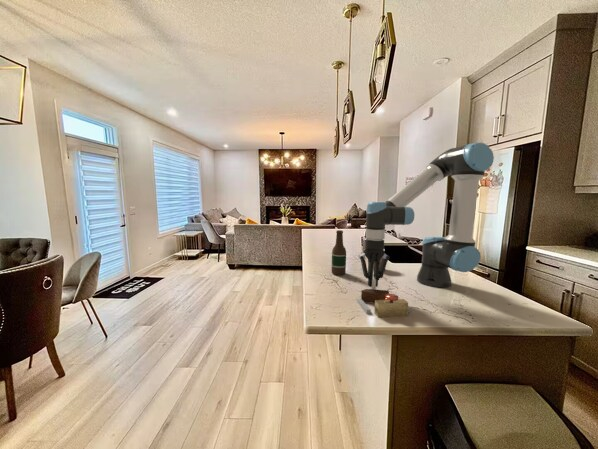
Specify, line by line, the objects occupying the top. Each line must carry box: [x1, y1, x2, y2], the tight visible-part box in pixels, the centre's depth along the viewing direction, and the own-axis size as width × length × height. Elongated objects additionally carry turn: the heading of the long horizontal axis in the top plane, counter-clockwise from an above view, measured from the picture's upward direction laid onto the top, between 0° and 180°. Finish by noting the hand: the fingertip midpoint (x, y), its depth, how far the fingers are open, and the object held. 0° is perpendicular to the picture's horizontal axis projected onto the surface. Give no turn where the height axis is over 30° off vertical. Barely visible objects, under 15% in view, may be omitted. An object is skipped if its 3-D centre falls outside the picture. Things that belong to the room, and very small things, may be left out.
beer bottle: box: [331, 229, 347, 276], centre depth 137 cm, size 8×8×24 cm
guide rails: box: [356, 297, 412, 315], centre depth 96 cm, size 17×10×2 cm, turn 96°
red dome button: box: [374, 293, 409, 318], centre depth 89 cm, size 11×4×7 cm, turn 96°
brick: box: [360, 288, 390, 304], centre depth 101 cm, size 11×4×5 cm, turn 75°
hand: (372, 293), depth 106 cm, fingers closed
